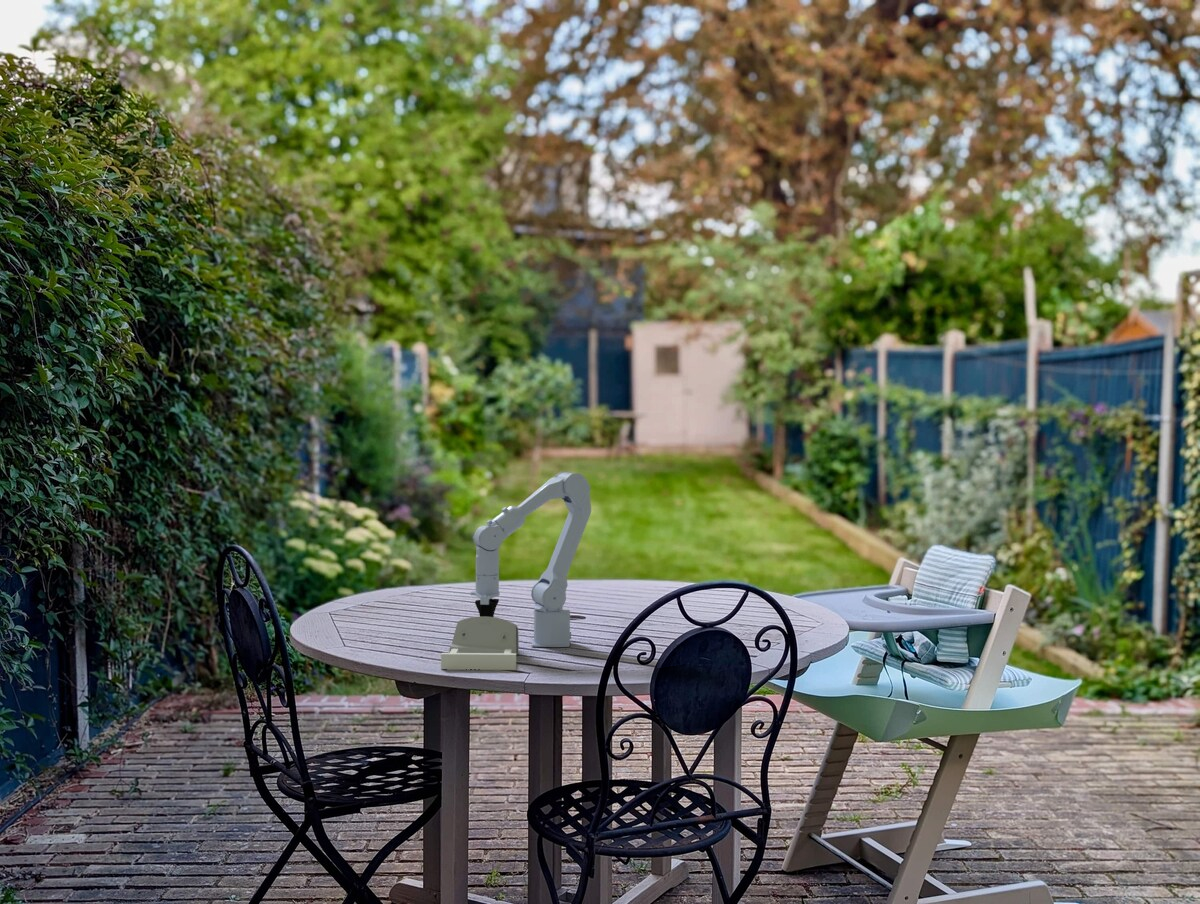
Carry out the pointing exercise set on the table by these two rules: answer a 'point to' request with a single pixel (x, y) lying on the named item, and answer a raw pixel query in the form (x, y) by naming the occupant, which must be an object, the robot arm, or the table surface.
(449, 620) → the table surface
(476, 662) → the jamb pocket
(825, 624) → the table surface
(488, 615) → the robot arm
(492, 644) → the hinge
